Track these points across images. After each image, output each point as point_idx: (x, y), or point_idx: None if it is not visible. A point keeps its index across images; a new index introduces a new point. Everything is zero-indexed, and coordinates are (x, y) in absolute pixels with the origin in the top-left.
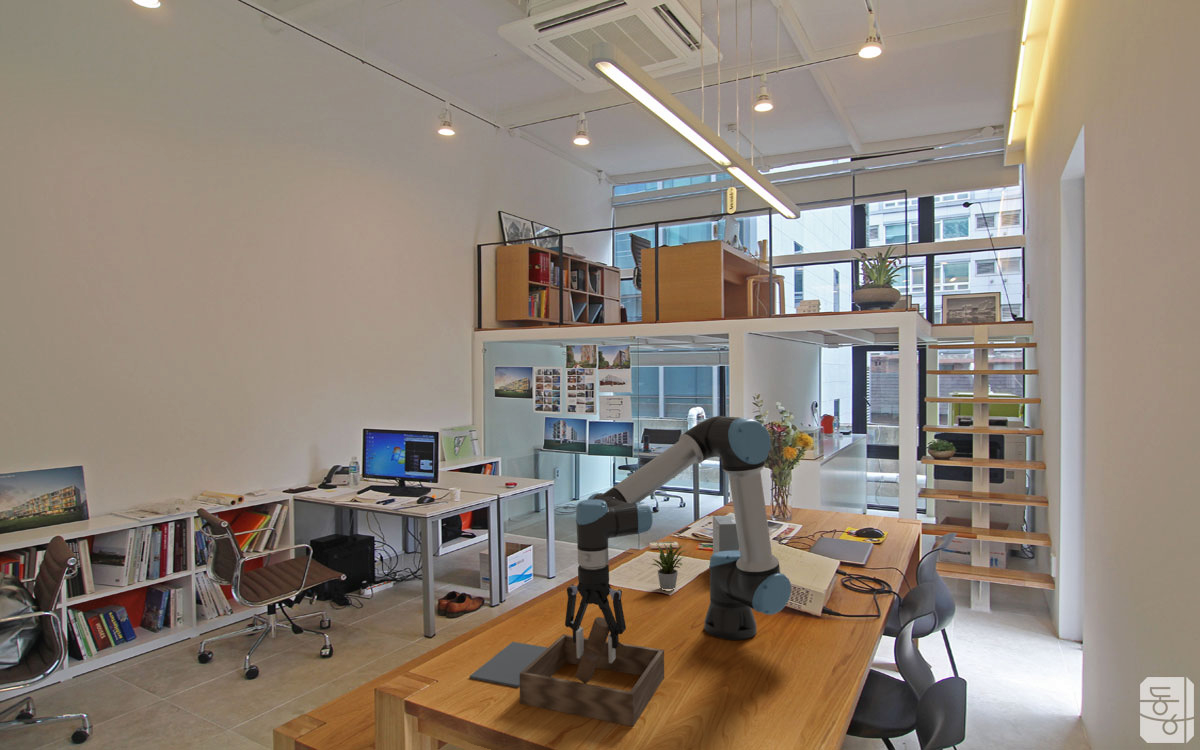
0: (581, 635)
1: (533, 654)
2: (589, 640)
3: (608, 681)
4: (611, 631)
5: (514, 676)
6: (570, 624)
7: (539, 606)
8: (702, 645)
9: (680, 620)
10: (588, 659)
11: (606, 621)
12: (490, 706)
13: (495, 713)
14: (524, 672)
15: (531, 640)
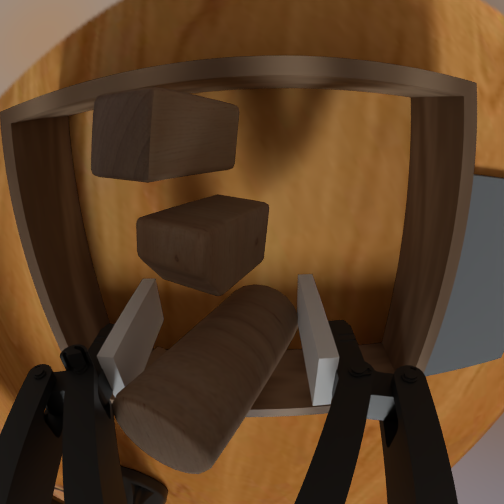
0: (310, 361)
1: (461, 336)
2: (250, 341)
3: (225, 299)
4: (84, 377)
5: (483, 218)
6: (389, 387)
7: (455, 456)
8: (132, 453)
9: (212, 496)
10: (118, 94)
11: (91, 428)
12: (475, 59)
13: (448, 27)
14: (466, 95)
15: (467, 382)
